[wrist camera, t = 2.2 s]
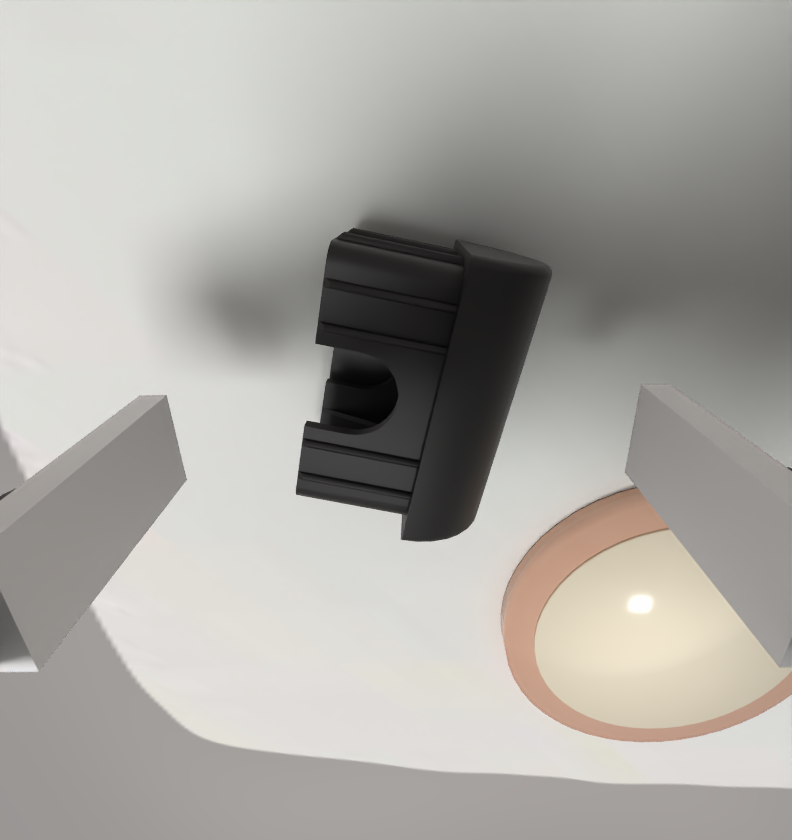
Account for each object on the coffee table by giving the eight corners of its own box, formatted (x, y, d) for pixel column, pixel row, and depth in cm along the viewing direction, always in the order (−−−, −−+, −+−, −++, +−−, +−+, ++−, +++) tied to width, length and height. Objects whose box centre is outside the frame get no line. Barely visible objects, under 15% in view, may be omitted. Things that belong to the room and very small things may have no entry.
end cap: (466, 466, 24) (484, 558, 18) (322, 438, 24) (289, 523, 17) (528, 253, 20) (579, 277, 14) (355, 216, 20) (327, 224, 13)
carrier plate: (874, 479, 23) (907, 499, 22) (773, 719, 30) (793, 747, 29) (510, 481, 24) (517, 501, 23) (493, 715, 31) (497, 742, 29)
